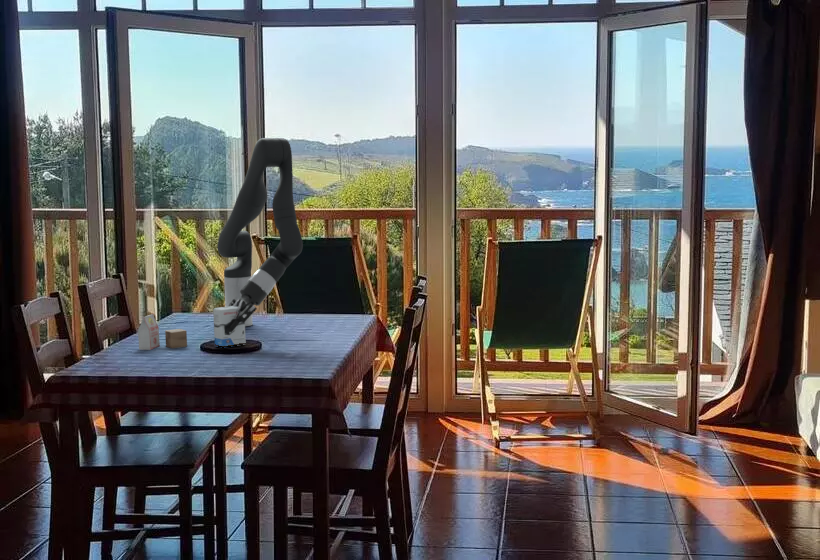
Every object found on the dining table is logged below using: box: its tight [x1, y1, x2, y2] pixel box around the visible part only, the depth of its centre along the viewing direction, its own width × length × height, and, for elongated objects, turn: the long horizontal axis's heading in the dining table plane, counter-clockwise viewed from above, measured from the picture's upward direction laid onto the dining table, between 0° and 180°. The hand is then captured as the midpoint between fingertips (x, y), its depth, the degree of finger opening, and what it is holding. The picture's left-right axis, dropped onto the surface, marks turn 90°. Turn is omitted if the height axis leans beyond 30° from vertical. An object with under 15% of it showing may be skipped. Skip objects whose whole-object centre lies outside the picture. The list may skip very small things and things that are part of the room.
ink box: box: [212, 306, 247, 346], centre depth 296 cm, size 8×5×12 cm, turn 131°
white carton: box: [137, 313, 161, 351], centre depth 296 cm, size 4×7×10 cm, turn 171°
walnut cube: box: [164, 328, 188, 349], centre depth 298 cm, size 5×5×5 cm
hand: (224, 329), depth 295 cm, fingers closed on ink box, 5 cm apart
